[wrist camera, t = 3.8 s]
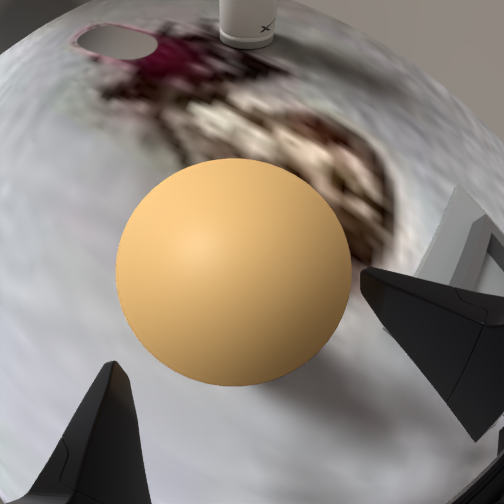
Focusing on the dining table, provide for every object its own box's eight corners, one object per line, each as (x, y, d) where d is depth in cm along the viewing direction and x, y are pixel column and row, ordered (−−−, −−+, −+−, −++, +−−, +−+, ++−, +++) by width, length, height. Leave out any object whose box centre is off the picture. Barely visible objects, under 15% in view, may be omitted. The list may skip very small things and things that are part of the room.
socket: (488, 425, 15) (509, 428, 13) (382, 328, 18) (403, 323, 15) (536, 288, 20) (553, 282, 17) (454, 188, 22) (470, 173, 20)
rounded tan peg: (237, 374, 17) (245, 435, 4) (181, 324, 17) (75, 266, 5) (286, 318, 18) (390, 252, 6) (230, 271, 19) (227, 127, 6)
